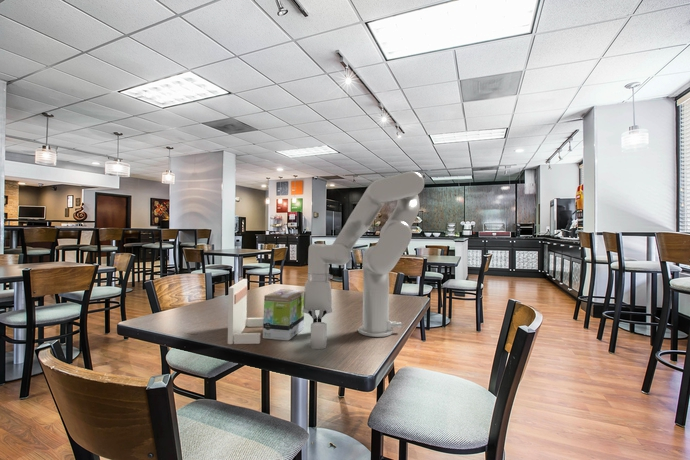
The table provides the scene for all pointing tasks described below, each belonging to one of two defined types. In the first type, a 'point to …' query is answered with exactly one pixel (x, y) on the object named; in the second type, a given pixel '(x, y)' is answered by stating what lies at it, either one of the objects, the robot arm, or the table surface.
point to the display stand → (241, 316)
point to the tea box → (283, 314)
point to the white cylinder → (318, 335)
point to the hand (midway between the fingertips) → (317, 328)
